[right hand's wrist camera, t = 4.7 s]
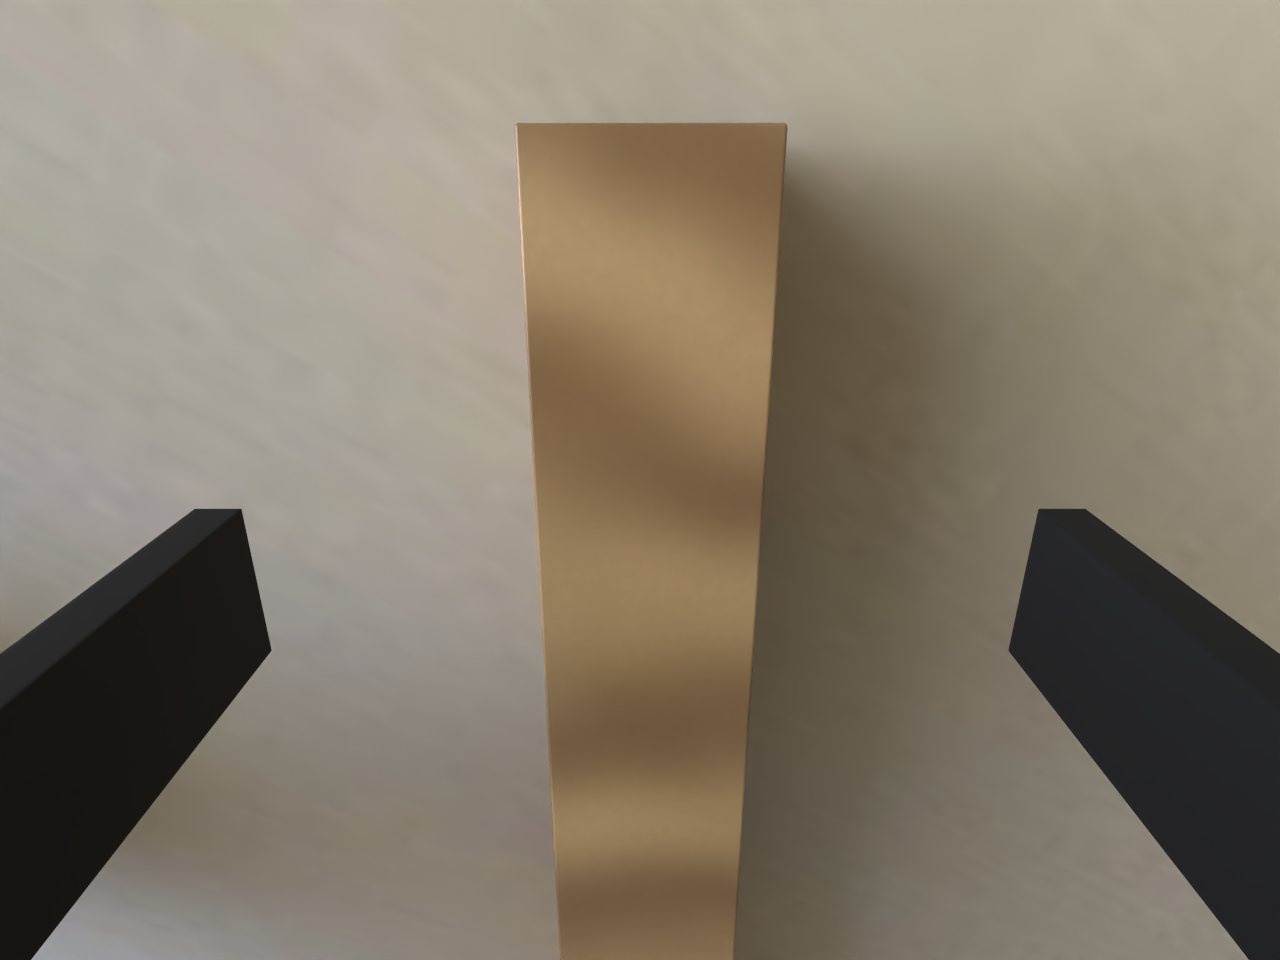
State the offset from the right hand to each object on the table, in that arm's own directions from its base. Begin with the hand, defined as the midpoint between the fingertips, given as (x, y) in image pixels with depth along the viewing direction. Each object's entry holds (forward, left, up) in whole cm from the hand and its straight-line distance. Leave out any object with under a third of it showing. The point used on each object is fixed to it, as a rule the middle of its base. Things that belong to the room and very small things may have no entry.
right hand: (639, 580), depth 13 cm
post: (-13, +14, -11) cm, 22 cm away
